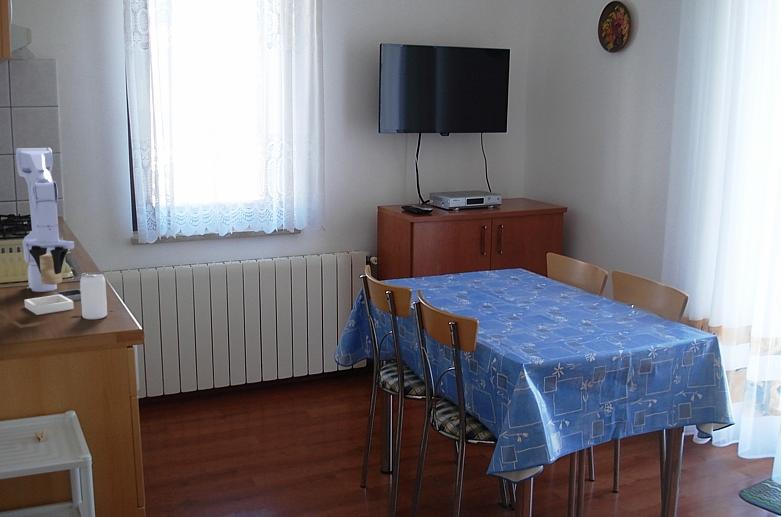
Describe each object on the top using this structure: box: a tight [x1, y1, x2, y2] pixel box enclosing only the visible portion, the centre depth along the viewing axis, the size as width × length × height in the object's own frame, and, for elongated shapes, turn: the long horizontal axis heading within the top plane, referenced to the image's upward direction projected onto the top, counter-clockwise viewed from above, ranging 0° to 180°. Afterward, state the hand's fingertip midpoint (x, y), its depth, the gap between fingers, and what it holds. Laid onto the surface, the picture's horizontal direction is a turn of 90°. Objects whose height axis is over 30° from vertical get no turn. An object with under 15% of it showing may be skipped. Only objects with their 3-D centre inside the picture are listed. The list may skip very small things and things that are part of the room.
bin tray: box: [24, 294, 75, 315], centre depth 225 cm, size 10×10×3 cm
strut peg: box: [40, 254, 63, 285], centre depth 225 cm, size 4×4×8 cm
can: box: [79, 271, 108, 321], centre depth 219 cm, size 6×6×12 cm
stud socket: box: [51, 288, 81, 302], centre depth 237 cm, size 9×9×2 cm
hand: (50, 273), depth 225 cm, fingers closed on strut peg, 4 cm apart
